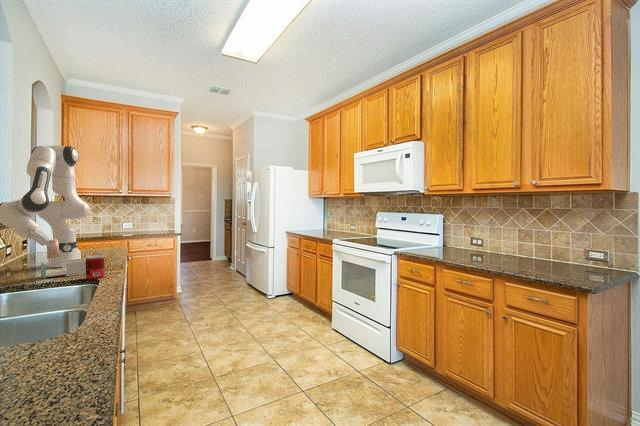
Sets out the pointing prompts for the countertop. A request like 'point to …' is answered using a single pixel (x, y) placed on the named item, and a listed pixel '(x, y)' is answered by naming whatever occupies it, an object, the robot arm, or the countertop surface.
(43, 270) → the tray
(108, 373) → the countertop surface
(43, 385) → the countertop surface
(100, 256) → the canned food
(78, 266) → the housing
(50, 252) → the jar
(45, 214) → the robot arm
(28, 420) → the countertop surface
